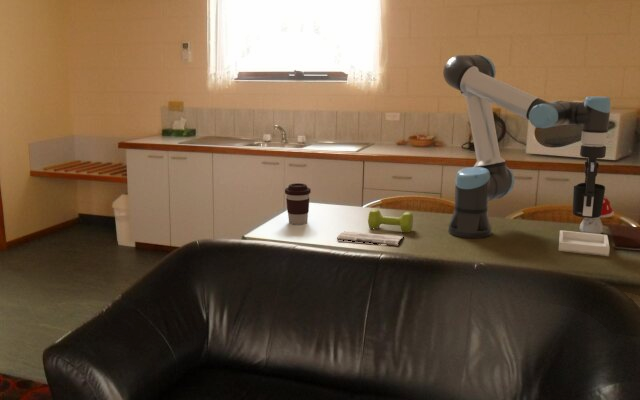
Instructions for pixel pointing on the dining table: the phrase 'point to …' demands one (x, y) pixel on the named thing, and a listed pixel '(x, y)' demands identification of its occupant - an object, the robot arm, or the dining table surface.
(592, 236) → the tray
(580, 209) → the pen holder
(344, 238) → the newspaper
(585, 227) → the decorative mushroom
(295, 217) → the coffee cup
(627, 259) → the dining table surface
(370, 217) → the dumbbell
